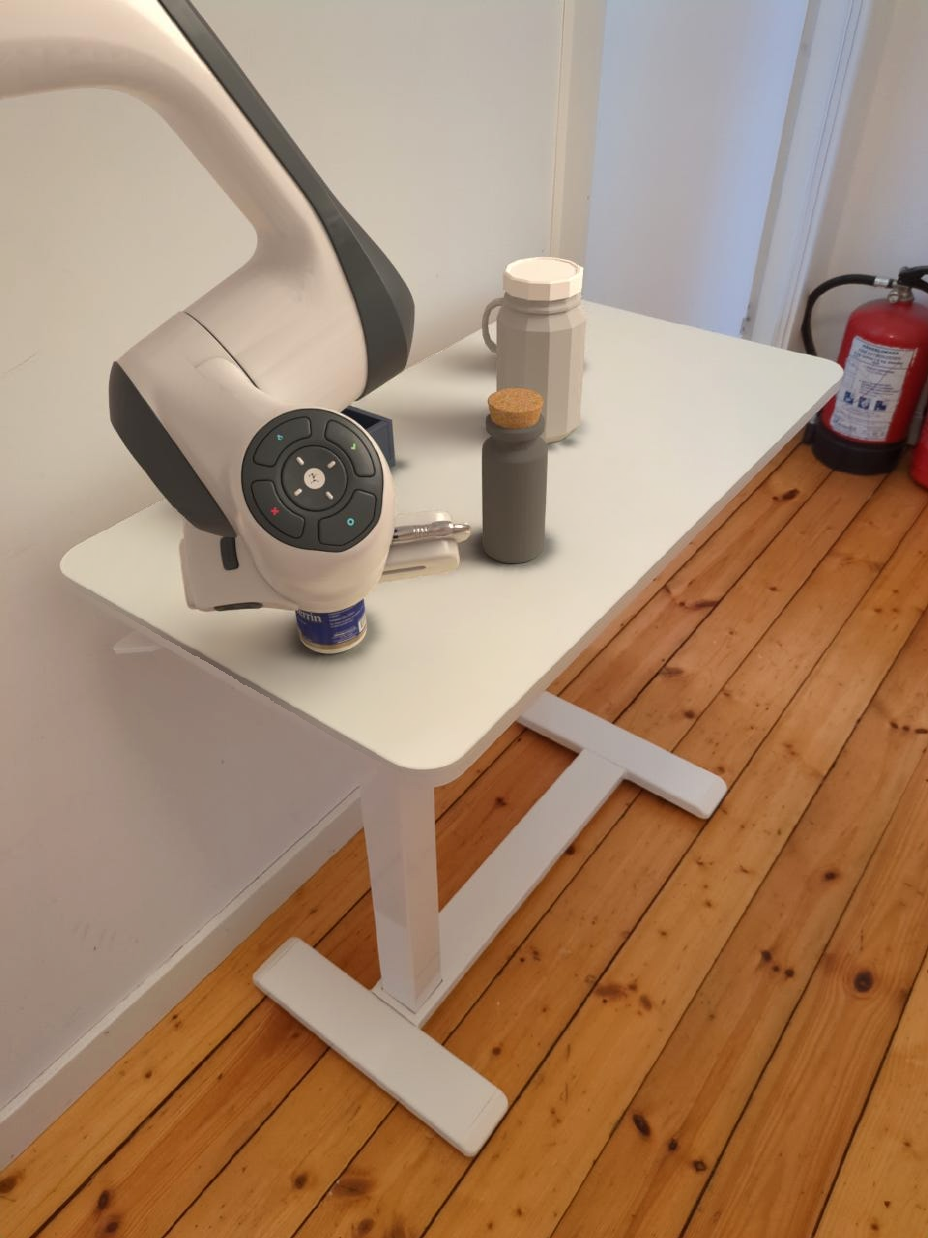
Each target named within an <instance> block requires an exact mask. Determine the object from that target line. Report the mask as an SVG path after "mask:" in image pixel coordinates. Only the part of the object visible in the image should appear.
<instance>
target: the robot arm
mask: <svg viewBox="0 0 928 1238" xmlns="http://www.w3.org/2000/svg"><path fill="white" fill-rule="evenodd" d="M211 27H212V26H210V25H209V23H208V21H206V19H205V18H204V17H203V16H202V14H201V13H200V12H199V10H198V9H197V8H196V6H195V5H194V4H193V2H192V1H191V0H0V100H5V99H12V98H20V97H26V96H32V95H38V94H45V93H52V92H60V91H67V90H79V89H97V90H98V89H99V90H100V89H101V90H109V91H116V92H120V93H124V94H126V95H129V96H131V97H133V98H135V99H137V100H139V101H140V102H142V103H143V104H145V105H147V106H148V107H149V108H151V109H152V110H153V111H154V112H155V113H156V114H158V116H160V117H161V118H162V119H163V121H164V122H165V123H166V124H167V125H168V126H169V127H170V129H171V130H172V131H173V132H174V133H175V134H176V136H177V137H178V138H179V140H180V141H181V142H182V143H183V144H184V145H185V146H186V148H187V149H188V150H189V151H190V152H191V154H192V155H193V156H194V157H195V159H196V160H197V161H198V162H199V164H201V166H202V167H203V168H204V169H205V171H206V172H207V173H208V174H209V175H210V177H211V178H212V179H213V180H214V181H215V182H216V184H217V185H218V186H219V187H220V188H221V190H222V191H223V192H224V193H225V194H226V196H227V197H228V198H229V199H230V201H231V202H232V203H233V204H234V205H235V206H236V208H237V209H238V210H239V211H240V212H241V214H242V215H243V216H244V217H245V218H246V219H247V221H248V222H249V223H250V224H251V226H252V227H253V228H254V230H255V234H256V240H257V241H256V248H255V250H254V253H253V254H252V256H251V257H250V258H249V259H248V260H247V261H246V263H244V264H242V265H241V267H239V268H237V269H236V270H235V271H233V272H232V273H231V274H230V275H228V276H227V277H226V278H225V279H223V280H222V281H220V282H219V283H217V284H216V285H215V286H214V287H213V288H211V289H210V290H208V291H207V292H205V294H203V295H202V296H201V297H199V298H198V299H196V300H195V301H193V302H192V303H191V304H190V305H189V306H188V307H185V308H184V309H183V310H181V311H177V312H176V313H175V314H173V315H172V316H171V317H169V318H168V319H166V321H164V322H163V323H161V324H160V325H159V326H157V327H156V328H154V329H153V330H152V331H150V333H148V334H147V335H146V336H144V337H143V338H142V339H141V340H140V341H138V342H137V343H135V344H134V345H133V346H131V347H130V348H129V349H128V350H127V351H125V352H124V353H123V354H122V355H121V356H120V357H119V358H118V359H117V360H114V361H113V362H112V366H111V369H110V374H109V378H108V411H109V420H110V423H111V426H112V427H113V429H114V431H115V432H116V434H117V436H118V437H119V439H120V441H121V442H122V444H123V445H124V446H125V448H126V449H127V450H128V452H129V453H130V455H131V456H132V457H133V459H134V460H135V461H136V463H137V464H138V466H140V467H141V469H142V470H143V471H144V472H145V474H146V475H147V477H148V478H149V479H150V481H151V482H152V483H153V485H154V486H155V487H156V489H157V490H158V491H159V492H160V494H161V495H162V496H163V497H164V498H165V500H167V502H168V503H169V504H170V505H171V506H172V507H173V508H174V509H175V510H176V511H177V512H178V513H179V514H180V515H181V516H182V517H183V520H182V524H183V525H182V535H183V537H182V538H181V540H180V542H179V544H178V555H179V564H180V572H181V579H182V586H183V592H184V598H185V605H186V607H187V608H189V609H190V610H194V611H195V610H196V611H197V610H198V611H200V612H205V613H211V612H228V611H238V610H239V611H240V610H259V609H274V610H282V611H283V610H284V611H291V612H295V611H297V610H299V609H300V610H303V611H307V612H313V613H330V612H336V611H340V610H343V609H346V608H348V607H351V606H353V605H354V604H356V603H358V602H359V601H361V600H362V599H363V598H364V599H365V598H366V597H367V596H368V595H369V594H370V593H371V592H372V591H373V590H374V588H375V587H376V586H377V584H381V583H387V582H395V581H401V580H409V579H415V578H422V577H429V576H436V575H443V574H447V573H451V572H453V571H455V570H457V569H458V568H459V566H460V562H461V557H460V550H459V544H458V543H461V542H465V541H466V540H467V539H469V537H470V536H471V532H472V528H471V526H470V524H469V522H467V521H465V522H456V523H455V522H454V521H455V520H454V517H453V515H452V514H451V513H450V512H449V511H445V510H425V511H417V512H410V513H409V512H408V513H401V514H398V499H397V497H398V496H397V491H396V485H395V482H394V478H393V475H392V471H391V469H389V466H388V464H387V462H386V459H385V457H384V455H383V453H382V452H381V450H380V448H379V446H378V445H377V443H376V442H375V440H374V439H373V438H372V437H371V435H370V434H369V433H368V432H367V431H366V430H365V429H364V428H363V427H362V426H361V425H359V424H358V423H357V422H356V421H354V420H353V419H351V418H350V417H348V416H346V415H344V414H342V413H340V412H342V411H343V410H344V409H345V408H346V407H348V406H349V405H350V406H351V405H352V404H353V403H354V402H358V401H360V400H362V399H364V398H365V397H366V396H368V395H369V394H371V393H373V392H374V391H376V390H377V389H379V388H380V387H382V386H383V385H384V384H386V383H388V382H389V381H390V380H392V379H394V378H395V377H397V376H398V375H399V374H401V373H402V372H404V370H405V369H406V366H407V363H408V359H409V357H410V356H409V355H410V353H411V348H412V343H413V337H414V330H415V315H416V306H415V301H414V298H413V295H412V293H411V290H410V289H409V287H408V285H407V283H406V282H405V280H404V278H403V277H402V275H401V274H400V272H399V271H398V269H397V268H396V267H395V265H394V264H393V263H392V261H391V260H390V259H389V257H388V256H387V255H386V254H385V253H384V251H383V250H382V248H380V247H379V245H378V244H377V243H376V241H374V239H373V238H372V237H371V236H370V235H369V233H368V232H367V231H366V230H365V229H364V228H363V227H362V226H361V225H360V223H359V222H358V221H357V219H355V218H354V217H353V216H352V214H351V213H350V212H349V211H348V210H347V209H346V207H344V205H343V204H342V203H341V201H340V200H339V199H338V198H337V197H336V195H335V194H334V193H333V192H332V191H331V189H330V188H329V186H328V185H327V184H326V182H325V181H324V179H323V178H322V177H321V176H320V174H319V173H318V171H317V170H316V169H315V168H314V166H313V164H312V163H311V162H310V161H309V160H308V158H307V156H306V155H305V154H304V153H303V151H302V149H300V147H299V145H298V144H297V143H296V142H295V140H294V139H293V138H292V136H291V135H290V133H289V132H288V131H287V129H286V128H285V126H284V125H283V124H282V122H281V121H280V120H279V118H278V117H277V116H276V114H275V113H274V112H273V110H272V109H271V108H270V105H269V104H268V103H267V102H266V101H265V99H264V98H263V96H262V95H261V94H260V92H259V91H258V90H257V88H256V87H255V86H254V84H253V83H252V81H251V80H250V78H249V77H248V76H247V75H246V73H245V72H244V70H243V69H242V68H241V66H240V64H238V62H237V61H236V59H235V58H234V56H233V55H232V54H231V53H230V51H229V50H228V49H227V47H226V46H225V44H224V43H223V41H222V40H221V39H220V38H219V36H218V35H217V34H216V32H215V31H214V29H212V28H211Z"/></svg>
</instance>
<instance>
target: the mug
mask: <svg viewBox="0 0 928 1238" xmlns="http://www.w3.org/2000/svg"><path fill="white" fill-rule="evenodd" d="M579 293H581V292H579ZM503 304H504V302H503V297H498V298H494V299H492V301H491V302H489V303H488V304H487V305H486V306H485V308H484V309H485V310H484V311H483V314H482V320H481V333H482V338H483V341H484V344H485V346H486V347H487V348H488V350H489V351H490V352H491V353H492V354H495V355H496V342H494V340H492V337H491V335H490V330H489V329H490V328H489V322H490V316H491V314H492V311H493V310H494V309H496V308H497V307H501V306H502V305H503Z"/></svg>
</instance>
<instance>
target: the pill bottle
mask: <svg viewBox="0 0 928 1238" xmlns="http://www.w3.org/2000/svg"><path fill="white" fill-rule="evenodd" d="M294 614H295V619H296V620H295V621H296V626H297V632H298V634H299V639H300V641H301V642H302V644H303V645H304V646H305V647H307V648H308V649H310V650H312V651H314V652H317V653H321V654H339V653H343V652H346V651H349V650H351V649H353V648H355V647H357V645H359V644H360V643H361V642H362V641H363V639H364V638H365V636H366V634H367V629H368V624H367V614H366V605H365V598H363V599H362V600H361V601H359V602H358V603H356V604H354V605H353V606H351V607H348V608H346V609H343V610H340V611H336V612H330V613H313V612H307V611H303V610H300V609H299V610H297V611H294Z"/></svg>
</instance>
